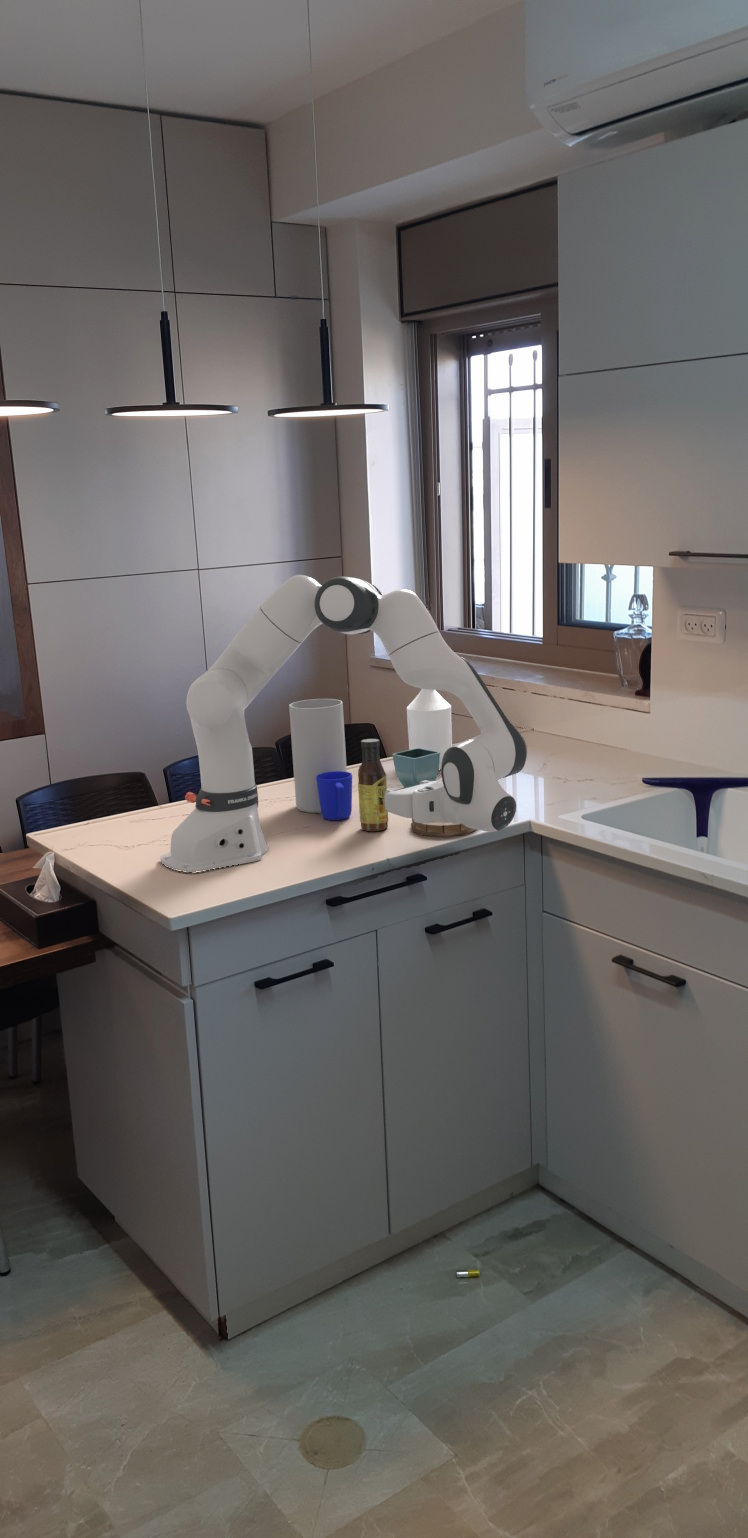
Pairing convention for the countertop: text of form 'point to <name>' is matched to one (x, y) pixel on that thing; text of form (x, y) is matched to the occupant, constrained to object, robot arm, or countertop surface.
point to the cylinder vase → (315, 746)
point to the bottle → (430, 723)
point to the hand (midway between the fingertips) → (405, 788)
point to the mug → (335, 794)
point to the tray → (440, 829)
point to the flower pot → (416, 766)
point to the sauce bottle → (372, 788)
